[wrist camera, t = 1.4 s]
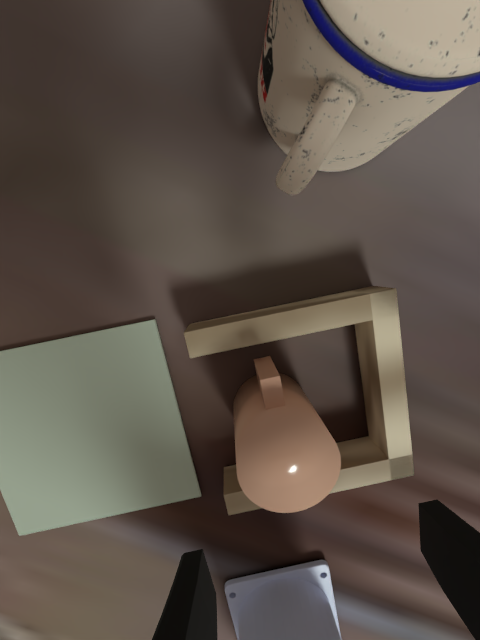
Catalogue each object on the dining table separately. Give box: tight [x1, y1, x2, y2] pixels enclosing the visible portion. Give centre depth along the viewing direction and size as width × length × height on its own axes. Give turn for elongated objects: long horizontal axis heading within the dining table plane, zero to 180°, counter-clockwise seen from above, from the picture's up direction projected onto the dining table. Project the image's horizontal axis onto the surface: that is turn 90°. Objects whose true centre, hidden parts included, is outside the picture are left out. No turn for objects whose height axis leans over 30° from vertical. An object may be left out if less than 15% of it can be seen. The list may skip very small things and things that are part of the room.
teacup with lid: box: [258, 0, 480, 195], centre depth 10 cm, size 12×9×12 cm
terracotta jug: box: [233, 356, 341, 513], centre depth 16 cm, size 7×5×6 cm
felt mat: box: [0, 319, 201, 536], centre depth 19 cm, size 13×13×1 cm
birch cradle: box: [184, 286, 414, 515], centre depth 18 cm, size 12×12×2 cm
